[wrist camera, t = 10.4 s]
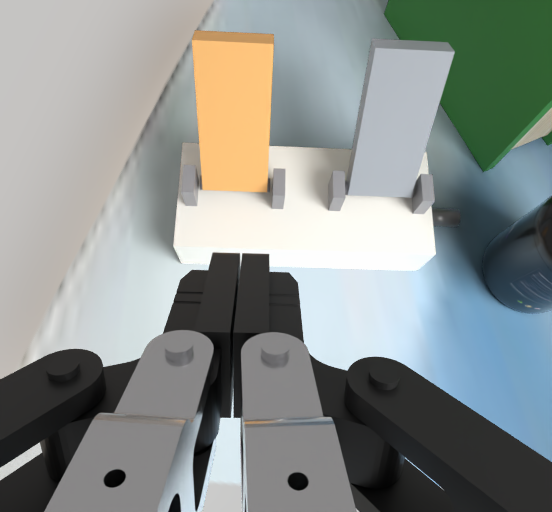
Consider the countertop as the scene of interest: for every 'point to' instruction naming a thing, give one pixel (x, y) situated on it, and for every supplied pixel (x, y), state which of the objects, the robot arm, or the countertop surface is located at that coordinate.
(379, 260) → the power strip
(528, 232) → the supplement bottle
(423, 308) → the countertop surface
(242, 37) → the orange switch
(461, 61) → the green cereal box
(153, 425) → the robot arm
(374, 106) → the grey switch
